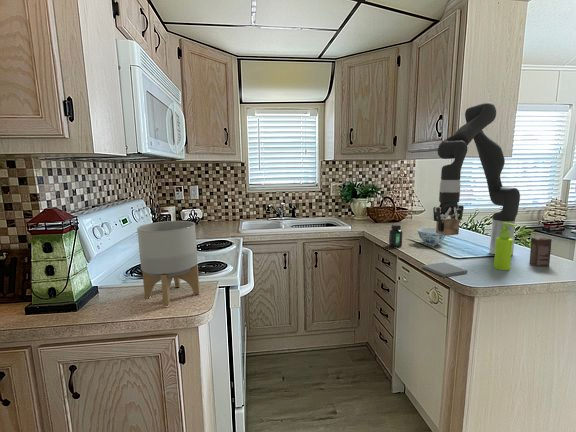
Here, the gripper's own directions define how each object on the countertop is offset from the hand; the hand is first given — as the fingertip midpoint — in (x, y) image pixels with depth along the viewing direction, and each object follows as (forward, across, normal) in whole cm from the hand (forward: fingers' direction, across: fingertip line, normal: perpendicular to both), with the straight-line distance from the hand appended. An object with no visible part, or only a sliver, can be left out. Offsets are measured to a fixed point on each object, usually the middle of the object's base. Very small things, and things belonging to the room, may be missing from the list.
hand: (447, 230), depth 132 cm
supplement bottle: (+18, -6, -41) cm, 45 cm away
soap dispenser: (+18, -25, +7) cm, 31 cm away
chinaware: (+18, -28, -38) cm, 50 cm away
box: (+18, -44, +9) cm, 48 cm away
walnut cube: (+1, 0, 0) cm, 1 cm away
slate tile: (+17, 0, 0) cm, 17 cm away
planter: (+18, +110, -14) cm, 112 cm away
